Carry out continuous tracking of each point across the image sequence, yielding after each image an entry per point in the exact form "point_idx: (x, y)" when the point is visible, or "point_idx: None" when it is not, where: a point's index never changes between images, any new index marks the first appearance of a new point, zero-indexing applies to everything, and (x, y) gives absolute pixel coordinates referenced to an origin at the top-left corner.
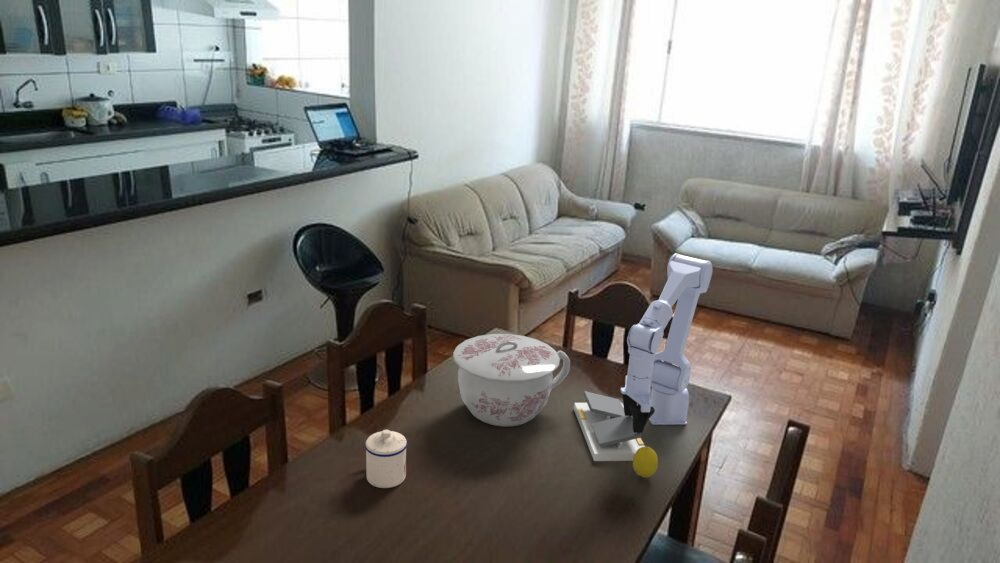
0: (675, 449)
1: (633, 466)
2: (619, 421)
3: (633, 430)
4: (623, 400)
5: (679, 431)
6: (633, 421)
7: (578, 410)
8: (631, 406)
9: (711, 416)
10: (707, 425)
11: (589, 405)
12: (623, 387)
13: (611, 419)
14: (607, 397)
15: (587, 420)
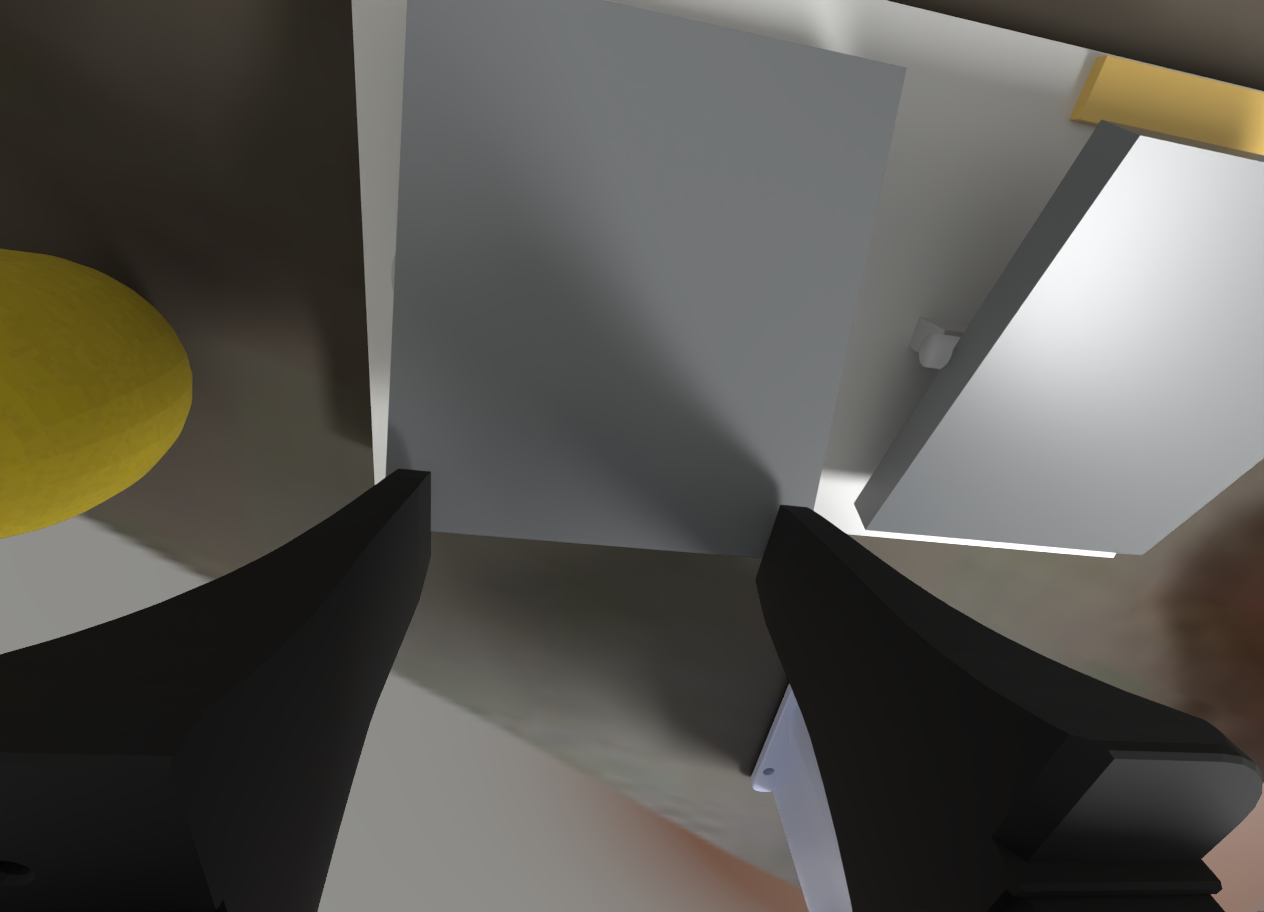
0: (520, 660)
1: (16, 251)
2: (746, 408)
3: (397, 475)
4: (924, 614)
5: (700, 732)
6: (305, 544)
7: (1258, 93)
8: (92, 787)
9: (783, 874)
10: (716, 844)
11: (1231, 151)
12: (1184, 825)
13: (835, 341)
14: (1228, 470)
15: (1041, 127)
